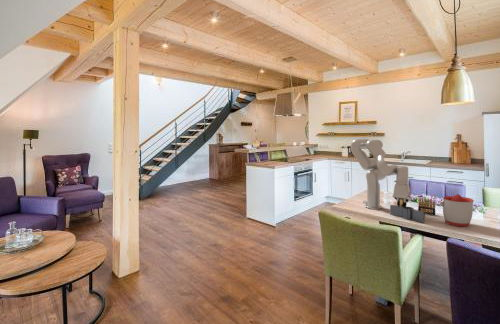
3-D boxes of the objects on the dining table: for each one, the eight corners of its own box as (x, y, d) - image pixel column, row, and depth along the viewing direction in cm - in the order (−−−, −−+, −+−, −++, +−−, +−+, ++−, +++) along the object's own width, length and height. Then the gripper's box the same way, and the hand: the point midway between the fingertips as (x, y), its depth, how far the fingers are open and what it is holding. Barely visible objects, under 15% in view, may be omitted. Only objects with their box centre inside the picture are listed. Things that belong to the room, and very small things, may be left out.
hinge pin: (398, 213, 194) (398, 195, 192) (400, 213, 196) (400, 195, 194) (402, 214, 191) (403, 196, 190) (404, 213, 193) (405, 195, 192)
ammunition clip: (417, 212, 195) (418, 197, 193) (418, 212, 196) (418, 196, 195) (434, 215, 187) (435, 199, 186) (435, 214, 188) (435, 198, 187)
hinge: (387, 215, 190) (387, 205, 190) (392, 213, 195) (392, 203, 194) (423, 223, 172) (424, 212, 171) (428, 220, 176) (428, 210, 176)
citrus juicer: (439, 218, 181) (440, 190, 179) (472, 222, 170) (473, 193, 168) (438, 224, 169) (438, 194, 167) (473, 229, 158) (474, 198, 156)
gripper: (388, 182, 195) (388, 205, 197) (412, 184, 182) (411, 210, 184) (392, 180, 200) (392, 203, 202) (416, 183, 187) (415, 208, 188)
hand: (401, 206), depth 193 cm, fingers closed on hinge pin, 3 cm apart
